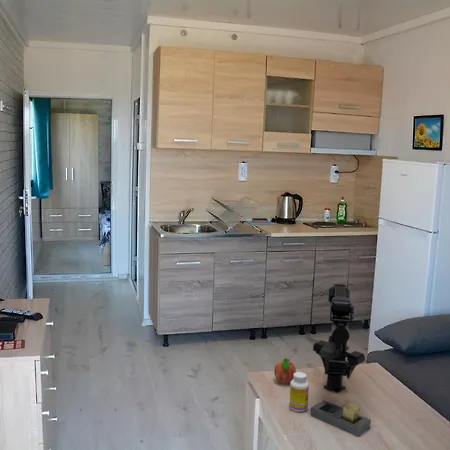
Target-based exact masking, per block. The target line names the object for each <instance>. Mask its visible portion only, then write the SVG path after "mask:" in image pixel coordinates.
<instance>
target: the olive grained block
mask: <svg viewBox="0 0 450 450" xmlns="http://www.w3.org/2000/svg"><path fill="white" fill-rule="evenodd" d="M342 408H343V420H346V421H348V422H350V423H353V424H355V423H356V422H358V421H359V415H361V412H360V411H361V407H360V406H357V405H356V404H352V403H351V402H349V403H348V404H347V403H346V405H344V406H342Z"/></svg>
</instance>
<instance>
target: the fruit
mask: <svg viewBox="0 0 450 450" xmlns="http://www.w3.org/2000/svg"><path fill="white" fill-rule="evenodd" d="M273 370H274V372H273V373H274V376H275V379H276V381H278V382H279V383H282V384H290V383H291V381H292V380H293V379H294V378H293V375H294V373H296V372H297V369H296V367H295V365H294V363H293V362H292V361H291V359H289V358H286V357H285V358H283V360H280V361H278V362H277V363H276V365H275V366H274V369H273Z"/></svg>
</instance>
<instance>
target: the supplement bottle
mask: <svg viewBox="0 0 450 450" xmlns="http://www.w3.org/2000/svg"><path fill="white" fill-rule="evenodd" d="M293 378H294V379H293V380H292V381H291V382H290V383H289V384H290V385H289V403H288V404H289V406H288V407H289V408H290V410H291V411H293V412H296V413H304V412H306V411H307V410H308V408H309V407H308V406H309V389H310V386H309V385H310V384H309V382H308V381H307V378H308V377H307V374H306V373H304V372H301V371H298V372H297V371H296V373H294V375H293Z"/></svg>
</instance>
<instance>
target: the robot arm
mask: <svg viewBox="0 0 450 450" xmlns="http://www.w3.org/2000/svg"><path fill="white" fill-rule="evenodd" d="M327 302H329V321H330V322H331V334H330V336H329V337H328V341H325V340H323V339H321V340H319V341H316V342H314V343H313V346H312V351H314V352H315V354H317V355H318V356H319V357H320V359H321V361H322V364H323V368H324V375H327V378H326V384H325V385H323V388H324V389H326V390H329V391H331V392H333V393H339V392H341V391H342V390H345V389H346V385H343V380H344V379H343V378H344V377H346V379H347V380H348V379H350V378H351V375H352V373H353V372H354V370H355V368H356V367H357V366H358V365H359V366H360V364H362V363H364V362H365V361H366V355H365V354H364V353H363V352H360V351H357V350H353V351H352V352H348V351H349V348H350V347H349V346H348V341H349V340H350V331H349V330H350V329H349V323H352V322H353V320H354V318H355V317H354V315H355V314H354V313H355V312H354V311H355V309H354V306H353V303H351V298H350V289H348V287H347V285H346V284H343V283H335V284H333V286H331V287H330V288H329V289H328V293H327Z"/></svg>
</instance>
